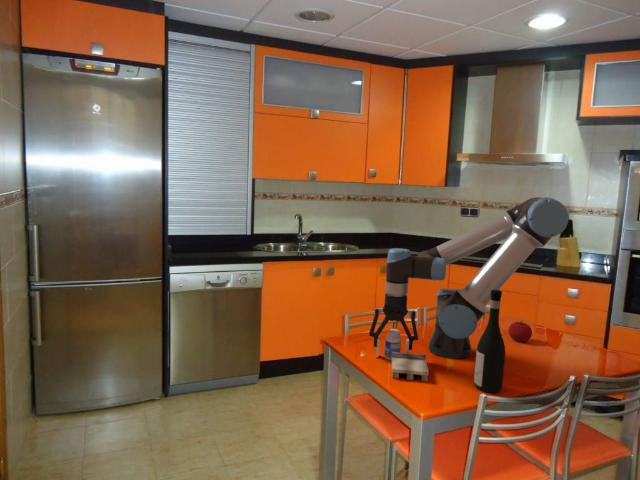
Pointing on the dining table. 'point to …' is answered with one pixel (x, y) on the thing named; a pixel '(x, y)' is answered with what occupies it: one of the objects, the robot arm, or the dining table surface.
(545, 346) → the dining table surface
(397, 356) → the dock
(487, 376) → the wine bottle
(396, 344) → the pill bottle
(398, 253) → the robot arm
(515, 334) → the tomato
